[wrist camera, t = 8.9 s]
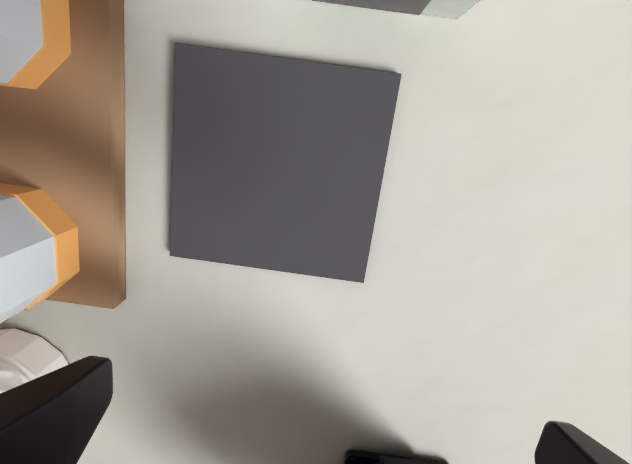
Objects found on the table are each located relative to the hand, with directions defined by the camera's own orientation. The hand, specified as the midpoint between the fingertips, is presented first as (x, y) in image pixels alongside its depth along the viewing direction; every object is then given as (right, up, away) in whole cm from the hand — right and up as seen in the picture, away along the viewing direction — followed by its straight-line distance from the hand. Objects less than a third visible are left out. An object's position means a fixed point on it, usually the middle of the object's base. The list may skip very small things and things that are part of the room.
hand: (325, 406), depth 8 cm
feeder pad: (-2, +7, +11) cm, 13 cm away
